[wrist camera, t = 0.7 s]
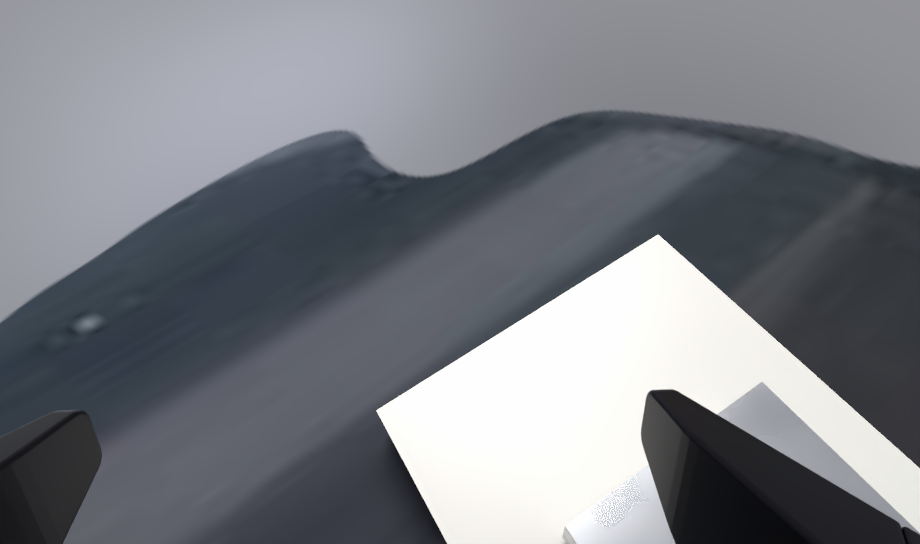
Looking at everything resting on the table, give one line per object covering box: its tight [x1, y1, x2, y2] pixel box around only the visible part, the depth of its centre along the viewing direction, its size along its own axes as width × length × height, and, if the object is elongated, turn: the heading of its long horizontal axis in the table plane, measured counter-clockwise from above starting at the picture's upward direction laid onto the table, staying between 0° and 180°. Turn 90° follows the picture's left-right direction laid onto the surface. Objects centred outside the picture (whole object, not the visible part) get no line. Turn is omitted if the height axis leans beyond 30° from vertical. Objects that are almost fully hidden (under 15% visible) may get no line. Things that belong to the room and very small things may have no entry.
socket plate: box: [376, 235, 920, 544], centre depth 18 cm, size 18×14×2 cm
